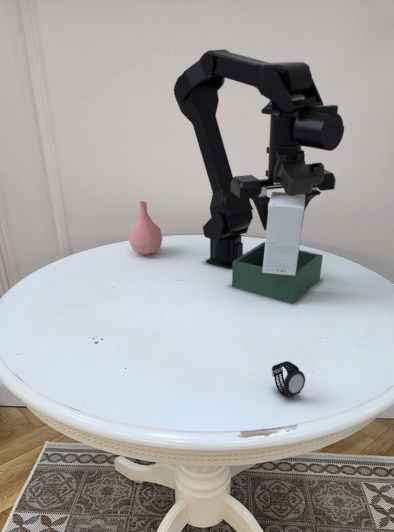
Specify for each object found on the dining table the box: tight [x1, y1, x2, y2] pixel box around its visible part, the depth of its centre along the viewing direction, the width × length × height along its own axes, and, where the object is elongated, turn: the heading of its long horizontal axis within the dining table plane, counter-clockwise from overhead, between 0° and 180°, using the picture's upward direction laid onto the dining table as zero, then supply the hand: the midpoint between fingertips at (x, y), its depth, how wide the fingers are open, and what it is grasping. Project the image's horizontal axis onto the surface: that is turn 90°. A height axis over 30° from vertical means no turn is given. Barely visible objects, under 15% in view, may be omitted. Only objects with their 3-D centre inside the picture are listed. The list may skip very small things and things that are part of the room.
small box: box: [262, 191, 306, 276], centre depth 99 cm, size 8×6×13 cm
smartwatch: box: [271, 360, 306, 399], centre depth 77 cm, size 4×5×5 cm
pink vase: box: [128, 201, 163, 256], centre depth 121 cm, size 8×8×12 cm
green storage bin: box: [231, 241, 324, 304], centre depth 108 cm, size 14×13×6 cm
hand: (280, 228), depth 103 cm, fingers closed on small box, 6 cm apart
